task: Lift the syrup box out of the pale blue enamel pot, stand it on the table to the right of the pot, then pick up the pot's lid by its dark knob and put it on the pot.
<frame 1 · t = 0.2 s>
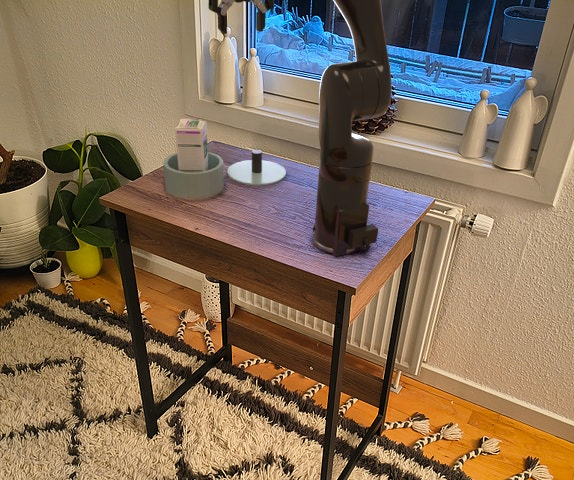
hand: (242, 32, 127), 29 cm above the table, tool pointing down, fingers open, 8 cm apart
lid: (256, 173, 135), point 1 cm above the table
pot: (195, 188, 129), on the table
syrup box: (195, 187, 128), resting on pot
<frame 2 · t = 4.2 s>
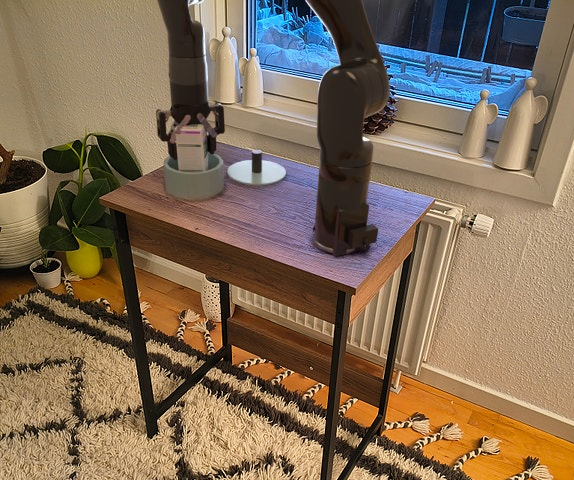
hand: (193, 155, 124), 8 cm above the table, tool pointing down, fingers closed on syrup box, 7 cm apart
syrup box: (195, 187, 128), resting on pot, touching gripper
everything else where it was.
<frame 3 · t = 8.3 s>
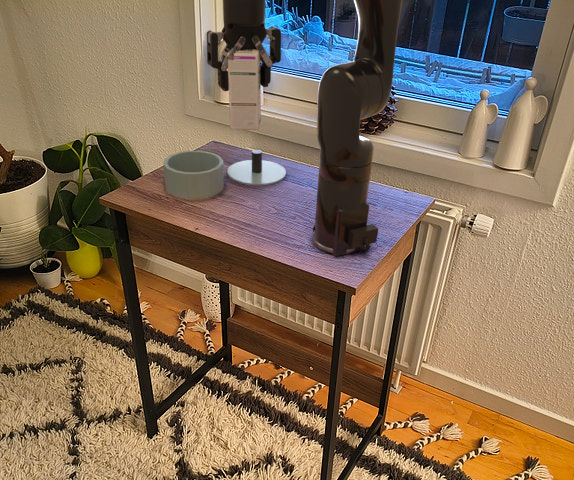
hand: (244, 88, 111), 24 cm above the table, tool pointing down, fingers closed on syrup box, 7 cm apart
syrup box: (245, 126, 115), point 16 cm above the table, touching gripper
everything else where it was.
when the fingers open (7 cm above the table, at t = 12.6 s): syrup box stays where it is, on the table.
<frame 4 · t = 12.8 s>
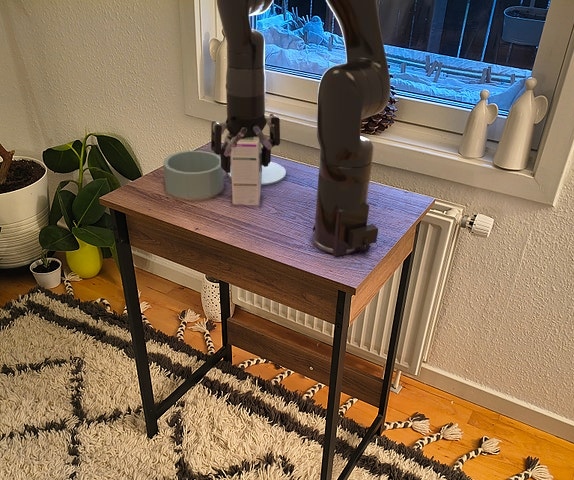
hand: (246, 168, 120), 7 cm above the table, tool pointing down, fingers open, 8 cm apart
syrup box: (246, 201, 125), on the table
everything else where it was.
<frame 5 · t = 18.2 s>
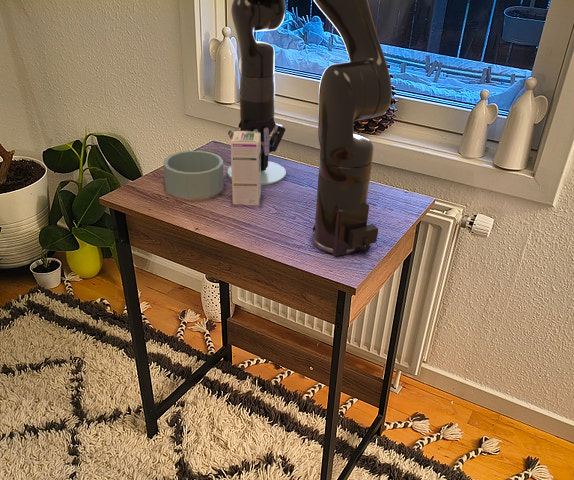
hand: (256, 170, 135), 1 cm above the table, tool pointing down, fingers closed on lid, 2 cm apart
lid: (256, 173, 135), point 1 cm above the table, touching gripper
everything else where it was.
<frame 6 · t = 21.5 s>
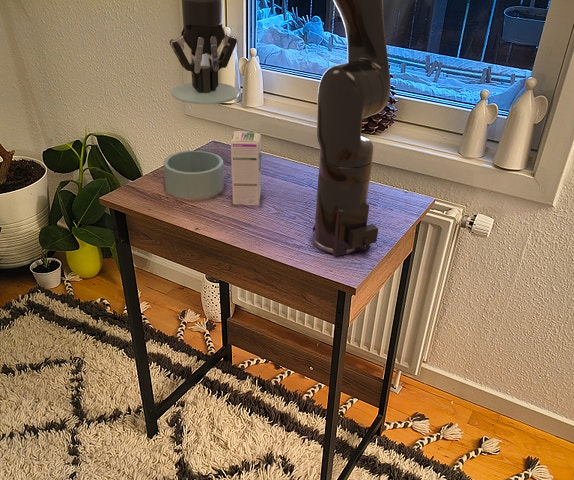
hand: (205, 89, 118), 21 cm above the table, tool pointing down, fingers closed on lid, 2 cm apart
lid: (205, 93, 119), point 20 cm above the table, touching gripper
everything else where it was.
when the fingers open (7 cm above the table, at t = 25.2 s): lid stays where it is, resting on pot.
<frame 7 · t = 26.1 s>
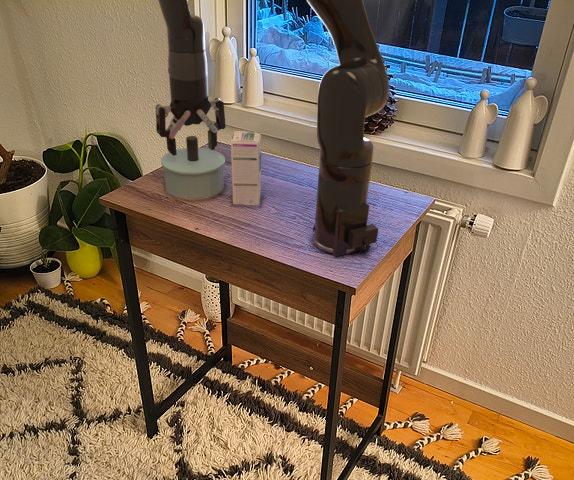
hand: (192, 151, 124), 9 cm above the table, tool pointing down, fingers open, 8 cm apart
lid: (193, 161, 125), point 6 cm above the table, touching pot
everything else where it was.
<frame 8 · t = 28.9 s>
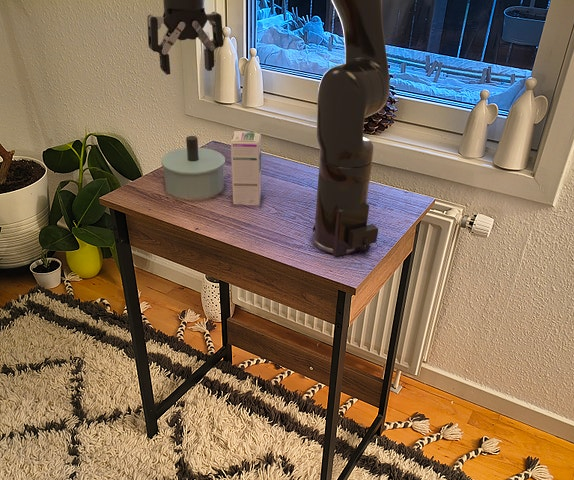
hand: (188, 71, 114), 25 cm above the table, tool pointing down, fingers open, 8 cm apart
nothing on the table moved.
at the end: syrup box inside the target area (0.1 cm from its centre), on the table; lid 0.1 cm off-centre on the pot, point 6.3 cm above the pot's base; lid tilted 0° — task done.
